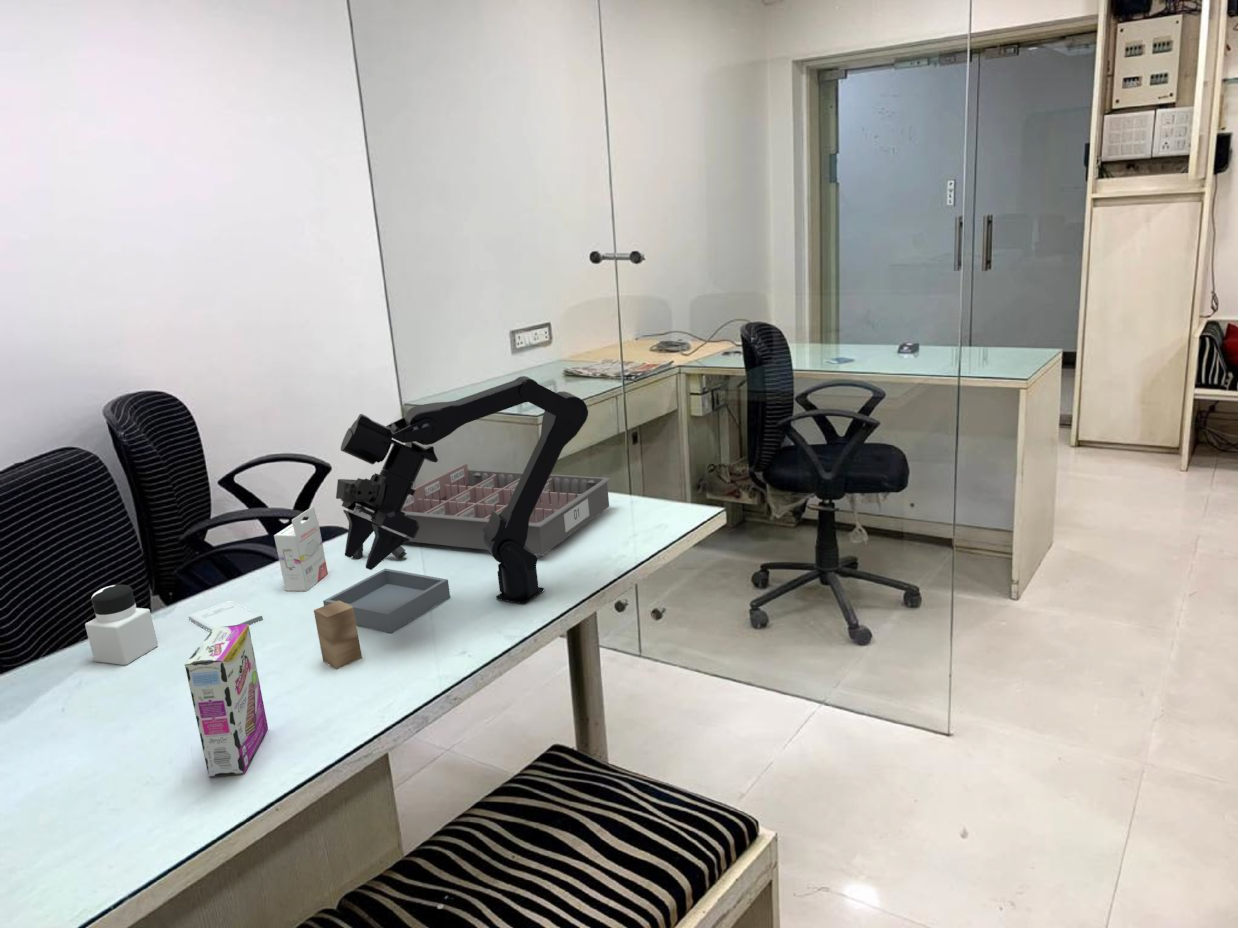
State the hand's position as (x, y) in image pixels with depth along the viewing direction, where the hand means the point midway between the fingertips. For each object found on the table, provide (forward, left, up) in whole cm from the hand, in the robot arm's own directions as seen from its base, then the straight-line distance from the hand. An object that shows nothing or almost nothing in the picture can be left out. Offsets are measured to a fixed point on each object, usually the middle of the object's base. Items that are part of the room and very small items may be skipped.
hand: (357, 562), depth 150 cm
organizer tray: (+12, -53, -14) cm, 56 cm away
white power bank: (+32, +4, -15) cm, 35 cm away
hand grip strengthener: (+26, -29, -14) cm, 41 cm away
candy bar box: (-8, +32, -14) cm, 36 cm away
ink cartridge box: (+31, -14, -14) cm, 36 cm away
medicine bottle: (+37, +20, -14) cm, 44 cm away
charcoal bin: (+6, -11, -14) cm, 18 cm away
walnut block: (-1, +7, -14) cm, 16 cm away
